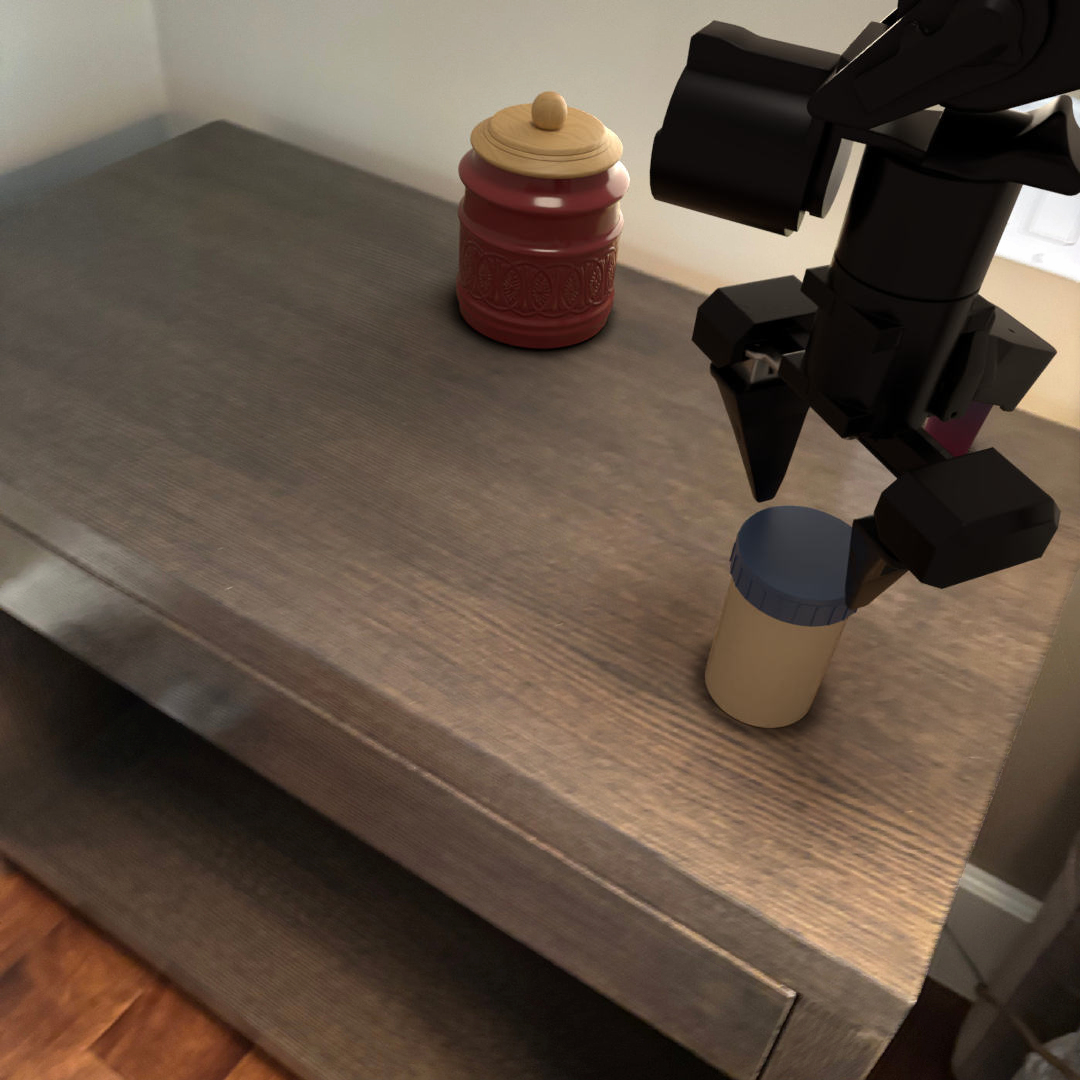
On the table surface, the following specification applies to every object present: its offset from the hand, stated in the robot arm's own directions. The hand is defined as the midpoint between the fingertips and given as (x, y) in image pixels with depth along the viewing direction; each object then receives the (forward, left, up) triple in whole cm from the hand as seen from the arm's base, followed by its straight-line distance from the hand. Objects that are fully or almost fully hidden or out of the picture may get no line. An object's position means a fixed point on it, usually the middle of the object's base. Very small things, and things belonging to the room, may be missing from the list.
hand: (807, 549), depth 51 cm
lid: (0, 0, 0) cm, 1 cm away
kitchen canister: (+17, -37, -11) cm, 42 cm away
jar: (0, 0, -11) cm, 11 cm away
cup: (-15, -25, -11) cm, 31 cm away
